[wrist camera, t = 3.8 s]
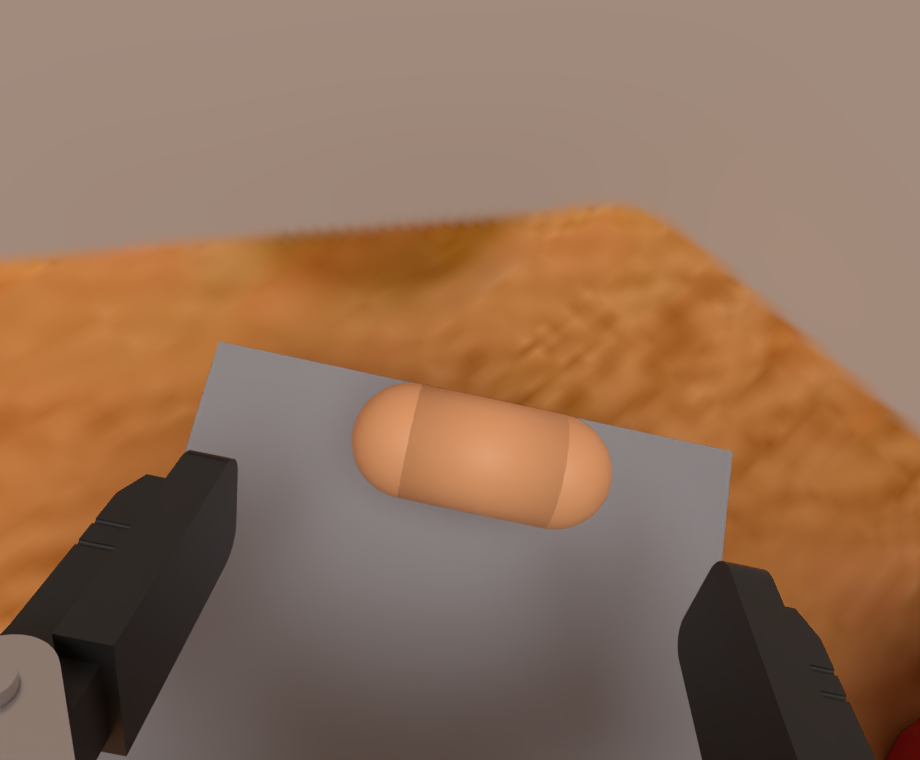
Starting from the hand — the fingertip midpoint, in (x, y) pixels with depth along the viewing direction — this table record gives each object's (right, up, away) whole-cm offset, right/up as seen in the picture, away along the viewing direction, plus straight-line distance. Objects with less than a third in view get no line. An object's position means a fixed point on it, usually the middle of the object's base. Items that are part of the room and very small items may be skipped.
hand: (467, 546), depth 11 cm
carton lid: (-1, -6, +6) cm, 9 cm away
